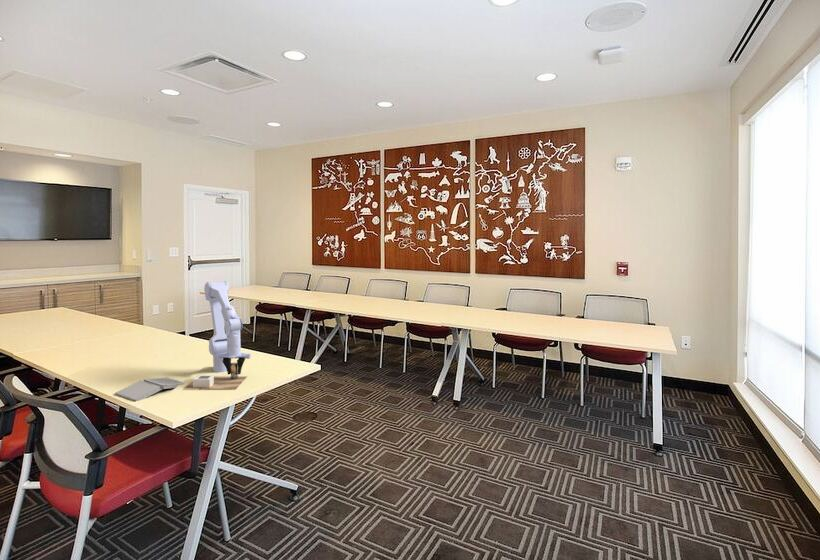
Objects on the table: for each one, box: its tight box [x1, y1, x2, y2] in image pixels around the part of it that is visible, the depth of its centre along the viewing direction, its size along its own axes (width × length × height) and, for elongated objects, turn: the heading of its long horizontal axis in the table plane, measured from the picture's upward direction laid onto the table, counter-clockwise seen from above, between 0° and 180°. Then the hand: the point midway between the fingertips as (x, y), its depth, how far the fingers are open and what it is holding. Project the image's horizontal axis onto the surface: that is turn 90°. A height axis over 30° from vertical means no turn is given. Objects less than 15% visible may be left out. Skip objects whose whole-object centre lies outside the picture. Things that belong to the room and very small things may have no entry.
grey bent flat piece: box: [114, 376, 186, 402], centre depth 193 cm, size 23×15×4 cm, turn 151°
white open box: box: [192, 375, 214, 387], centre depth 196 cm, size 5×7×4 cm
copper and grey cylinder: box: [230, 362, 239, 380], centre depth 205 cm, size 3×3×7 cm
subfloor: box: [182, 375, 248, 391], centre depth 200 cm, size 18×22×1 cm
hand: (234, 373), depth 206 cm, fingers open, 4 cm apart
